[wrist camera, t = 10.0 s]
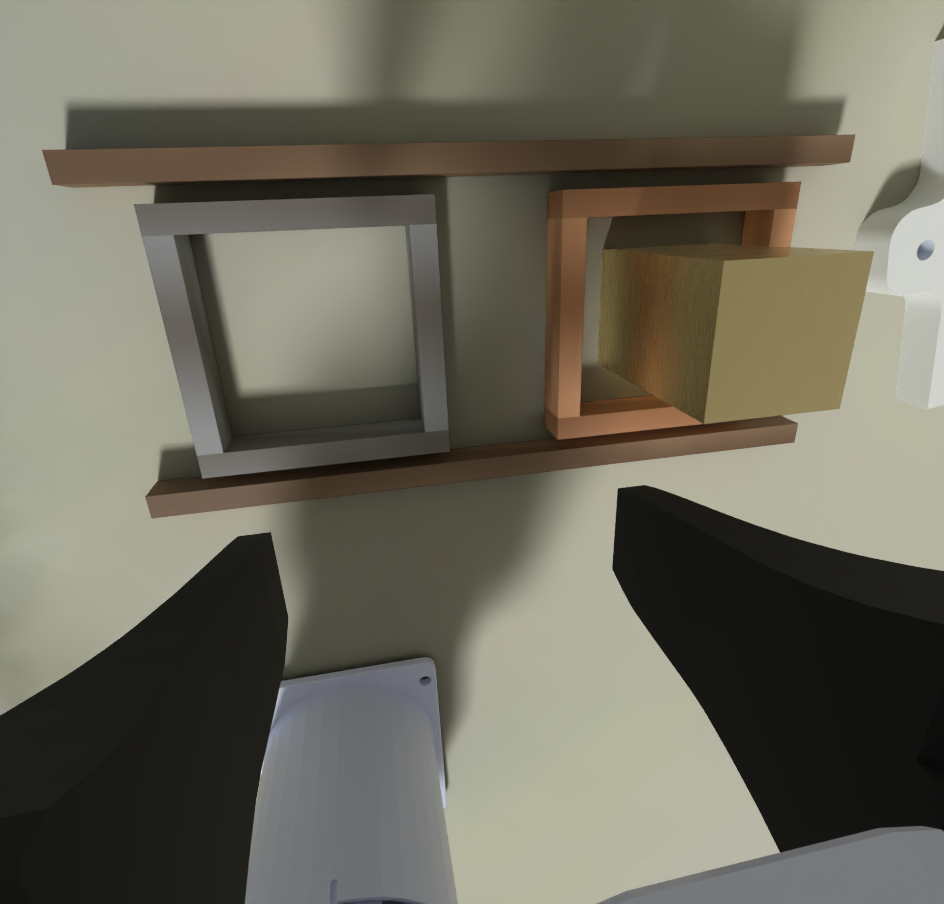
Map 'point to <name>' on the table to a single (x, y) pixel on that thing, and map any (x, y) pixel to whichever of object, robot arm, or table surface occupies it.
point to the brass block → (732, 326)
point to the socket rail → (432, 303)
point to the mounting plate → (916, 259)
